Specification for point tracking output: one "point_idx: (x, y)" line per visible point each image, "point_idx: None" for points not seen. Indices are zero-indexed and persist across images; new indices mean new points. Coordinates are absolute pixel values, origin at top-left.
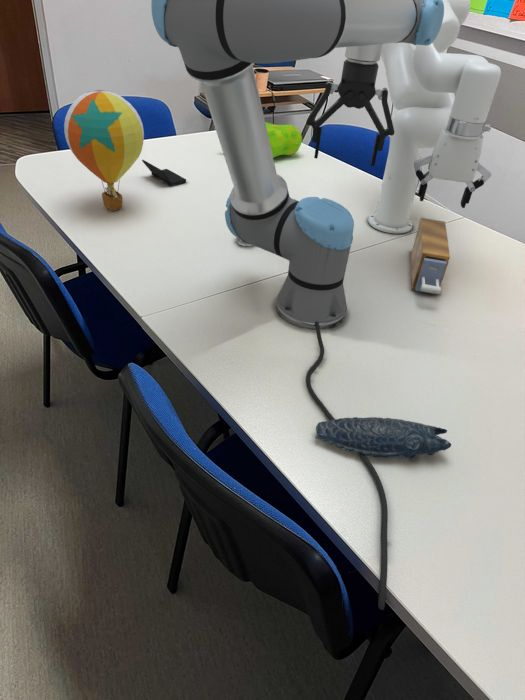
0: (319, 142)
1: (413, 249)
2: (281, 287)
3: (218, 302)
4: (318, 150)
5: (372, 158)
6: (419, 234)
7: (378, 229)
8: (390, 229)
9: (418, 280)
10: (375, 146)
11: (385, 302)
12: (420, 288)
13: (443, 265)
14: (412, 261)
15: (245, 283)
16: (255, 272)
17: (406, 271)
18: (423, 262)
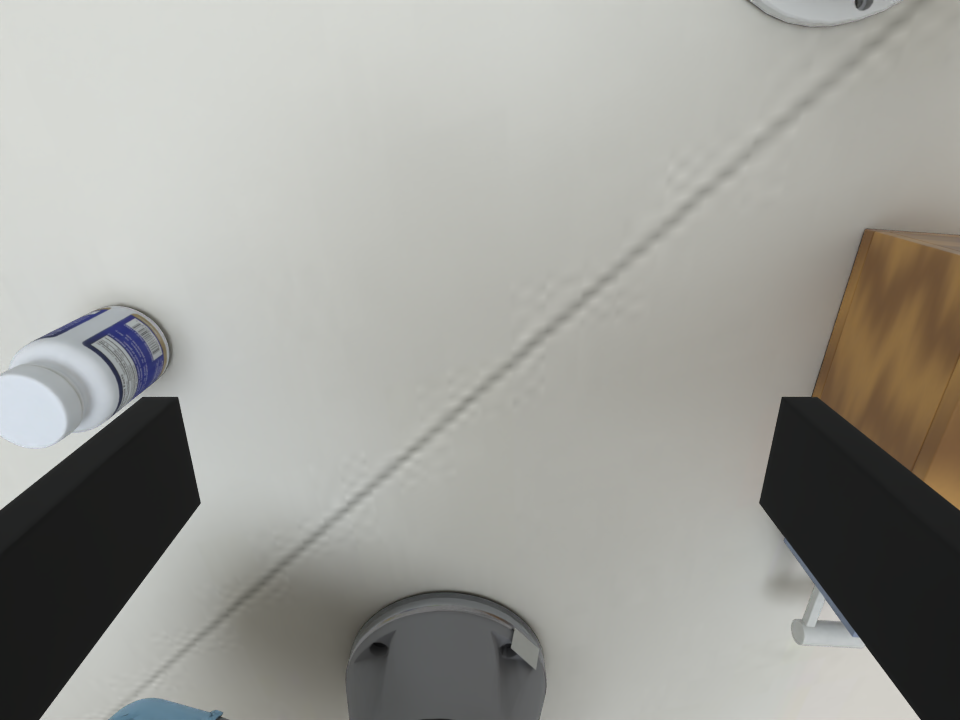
0: (100, 632)
1: (874, 292)
2: (348, 708)
3: (201, 682)
4: (157, 549)
5: (796, 550)
6: (927, 387)
7: (752, 2)
8: (822, 19)
9: (804, 569)
10: (890, 674)
11: (669, 590)
12: None
13: None
14: (837, 359)
15: (236, 594)
16: (243, 533)
17: (792, 396)
18: (845, 622)
